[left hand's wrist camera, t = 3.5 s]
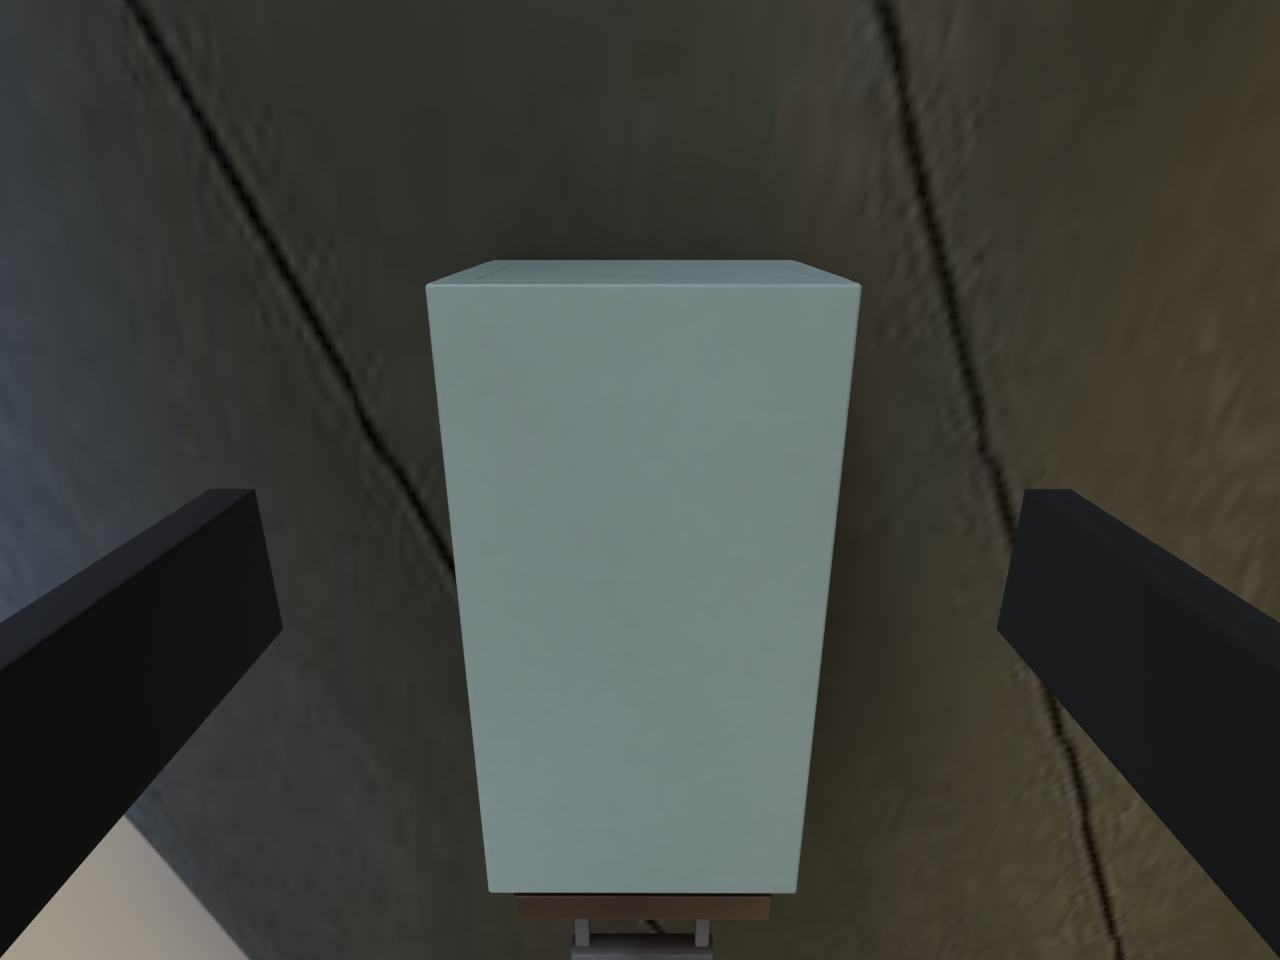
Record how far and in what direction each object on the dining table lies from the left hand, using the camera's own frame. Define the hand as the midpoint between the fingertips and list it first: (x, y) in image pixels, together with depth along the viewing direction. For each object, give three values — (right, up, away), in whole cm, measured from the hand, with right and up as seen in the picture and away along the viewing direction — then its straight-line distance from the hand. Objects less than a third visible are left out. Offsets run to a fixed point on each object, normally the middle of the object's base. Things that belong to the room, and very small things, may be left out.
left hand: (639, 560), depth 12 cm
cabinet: (0, 0, +16) cm, 16 cm away
